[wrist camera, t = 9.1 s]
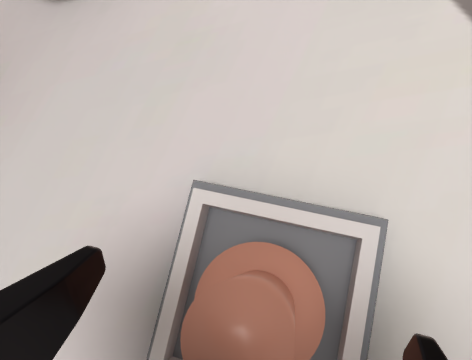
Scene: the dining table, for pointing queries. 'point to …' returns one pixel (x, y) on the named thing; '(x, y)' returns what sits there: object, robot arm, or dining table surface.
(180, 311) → the station board
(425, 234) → the dining table surface
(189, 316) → the pink flanged peg
